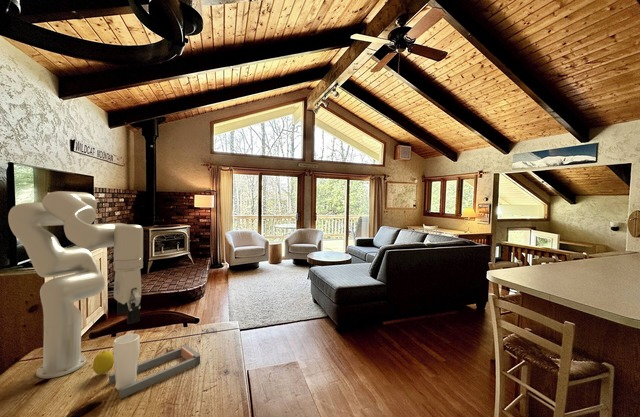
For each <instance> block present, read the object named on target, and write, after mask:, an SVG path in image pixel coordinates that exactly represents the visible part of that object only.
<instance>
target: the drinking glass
mask: <svg viewBox="0 0 640 417" xmlns="http://www.w3.org/2000/svg"><path fill="white" fill-rule="evenodd" d="M140 340H141V339H140V335H139V334H138V333H126V334H123V335H121V336H119V337H118V336H117V337H116V338H115V339H114V340H113V351H112V354H113V357H114V364H113V366H114V368H113V369H114V373H115V380H116V382H115V389H116V390H117V391H119V389H120V388H122V387H125V386H127V385H129V384H132V383H134V382H137V374H138V373H137V366H138V364H139V356H140V348H141V344H140V343H141V341H140Z"/></svg>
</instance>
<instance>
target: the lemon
mask: <svg viewBox="0 0 640 417" xmlns="http://www.w3.org/2000/svg"><path fill="white" fill-rule="evenodd" d="M113 366H114V357H113V352H111V351H109V350H102V351H101V352H99V353H98V354H97V355H96V356H95V357H94V360H93V363H92V368H93V372H94V373H95V374H98V375H102V376H104V375H105V374H106V373H109V371H110V370H111V369H112V368H113Z"/></svg>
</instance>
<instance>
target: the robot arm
mask: <svg viewBox="0 0 640 417" xmlns="http://www.w3.org/2000/svg"><path fill="white" fill-rule="evenodd" d="M97 207H98V203H97V200H96V198H95V197H94V195H92V194H91V193H89V192H83V191H82V192H81V191H79V192H78V191H62V190H60V191H57V190H56V191H52V192H49V193H48V194H45V196H44V197H43V198H42V200H41V201H40V202H35V201H34V202H23V203H19V204H17V205H16V204H15V205H14V206H12V207H11V208H10V210H9V212H8V217H7V218H8V225H9V228H10V230H11V232H12V234H13V235H14V236H15V237H16V239H17V240H18V241H19V242H20V243H21V245H22V246H23V247H24V249H25V251H26V254H27V256H28V258H29V260H30V262H31V264H32V267H33V268H34V271H35V272H36V274H37V275H38V276H40V277H41V278H44V279H45V278H46V279H47V278H48V279H49V278H51V279H49V280H47V281H45V282H44V283H43V284H42V285H41V286H40V289H39V296H40V297H39V298H40V303H41V306H42V312H43V347H42V348H43V357H42V358H43V359H42V361H43V362H42V365H40V366H39V367H38V368H37V369H36V373H35V375H36V377H38V378H40V379H53V378H58V377H63V376H65V375H68V374H70V373H73V372H75V371H77V370H79V369H81V368H82V367H83V366H84V365H85V364H86V363H87V356H85V355H84V354H82V312H81V310H80V309H79V308H78V307H77V306H76V305H75V304H74V303H75V302H79V301H80V300H85V299H87V298H92V297H95V296H97V295H99V294H101V293H102V292H103V290H104V289H105V286H106V282H105V278H104V275H103V273H102V271H101V269H100V267H99V265H98V262H97V261H96V259H95V257H94V255H93V254H92V252H91V251H90V250H97V249H104V248H113V271H114V272H115V274H114V281H113V282H114V284H113V299H114V300H116V302H117V303H116V315H117V317H120V316H123V315H126V317H127V319H126V323H127V325H132V324H135V323H139V322H140V321H141V299H142V277H141V275H142V274H141V269H143V268H144V229H143V226H142V225H139V224H126V223H122V222H115V223H94V221H95V220H96V217H97V212H96V210H97ZM46 226H47V227H48V226H51V227H52V226H63V230H64V231H63V232H64V234H65V237H66V238H67V240H69V241H70V242H71V243H73V244H74V245H76V247H74V246H72V247H63V246H61V244H60V242H59V239H58V238H57V236H55V235H54V234H53V233H51V232H50V231H49V230H47V229H45V228H43V227H46Z"/></svg>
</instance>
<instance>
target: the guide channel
mask: <svg viewBox="0 0 640 417" xmlns="http://www.w3.org/2000/svg"><path fill="white" fill-rule="evenodd" d="M178 357H182V358H184V361H182V362H179V363H177V364H175V365H173V366H170V367H168V368H165V369H163V370H160V371H158V372H156V373H153V374H151V375H149V376H147V377H143V378H142V379H139V380H136V382H134V383H132V384H129V385H127V386H125V387H122V388H120V389H119V390H118V393H119V395H118V396H119V399H124V398H126V397H128V396H131V395H133V394H134V393H137V392H139V391H142V390H144V389H146V388H148V387H150V386H153V385H155V384H158V383H160V382H161V381H163V380H166V379H168V378H171V377H173V376H176V375H177V374H180V373H182V372H184V371H187V370H189V369H190V368H194V367H195V366H197V365H200V364H201V354H199V353H198V352H196V350H194V349H192V348H191V347H190V346H188V345H187V344H183V345H181V347H180V348H176V349H174V350H171V351H168V352H165V353H163V354H161V355H158V356H155V357H153V358H150V359H146V360H145V361H143V362H138V366H137V374H139V373H142V372H143V371H147V370H149V369H151V368H154V367H157V366H159V365H162V364H164V363H167V362H169V361H171V360H174V359H177V358H178ZM108 383H109V385H112V384H114V383H116V380H115V372H113V373H110V374H109V375H108Z"/></svg>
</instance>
